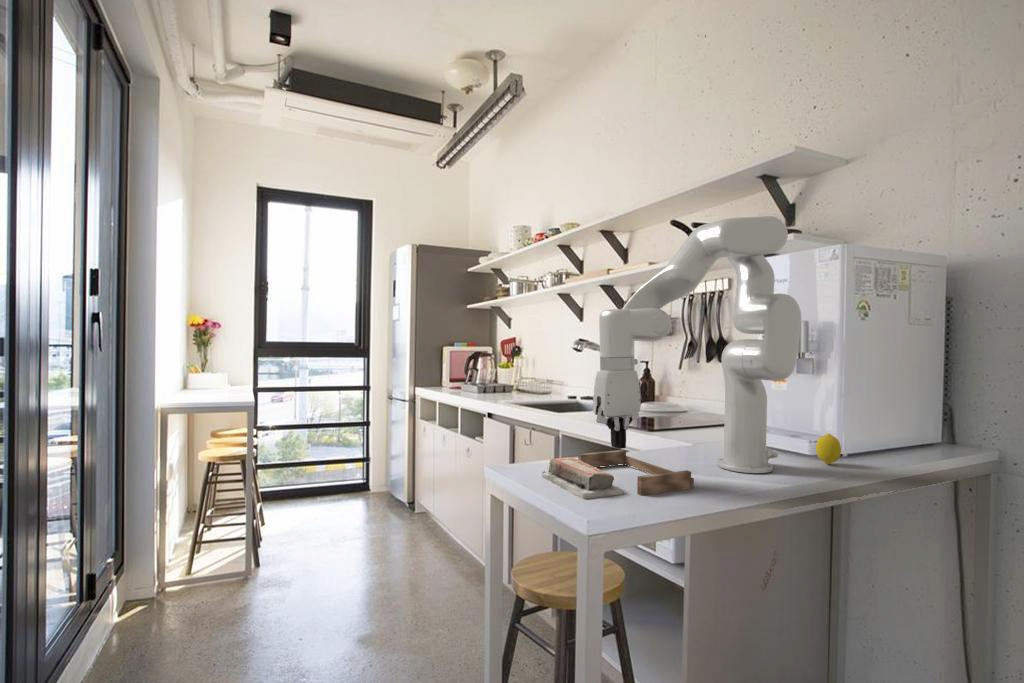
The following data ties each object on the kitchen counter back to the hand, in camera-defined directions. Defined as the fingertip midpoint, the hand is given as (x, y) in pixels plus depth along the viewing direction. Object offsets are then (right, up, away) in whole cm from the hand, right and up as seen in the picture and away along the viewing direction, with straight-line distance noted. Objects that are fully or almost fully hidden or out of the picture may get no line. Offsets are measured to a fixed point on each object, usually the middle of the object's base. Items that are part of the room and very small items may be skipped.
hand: (618, 447), depth 118 cm
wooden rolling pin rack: (+3, -7, +2) cm, 8 cm away
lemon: (+57, -8, +18) cm, 60 cm away
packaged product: (-9, -8, -5) cm, 13 cm away
